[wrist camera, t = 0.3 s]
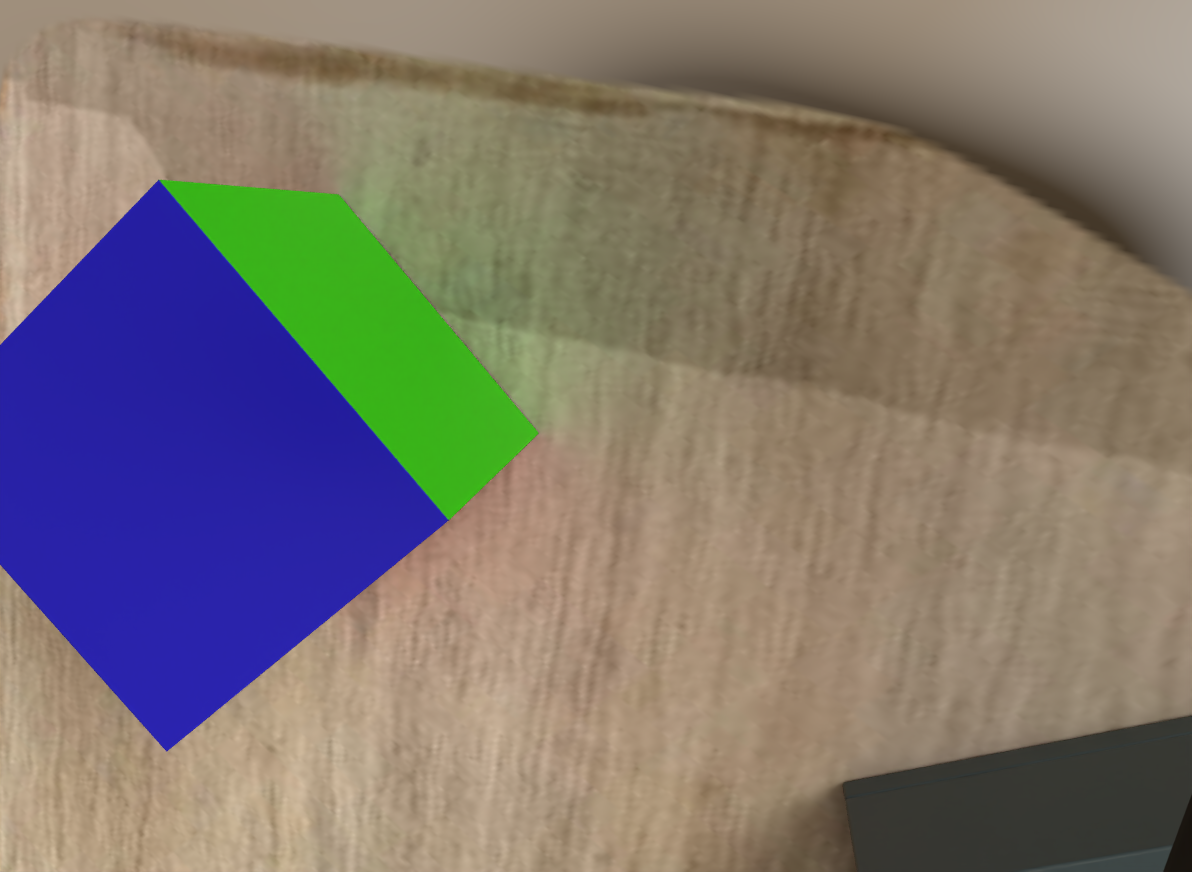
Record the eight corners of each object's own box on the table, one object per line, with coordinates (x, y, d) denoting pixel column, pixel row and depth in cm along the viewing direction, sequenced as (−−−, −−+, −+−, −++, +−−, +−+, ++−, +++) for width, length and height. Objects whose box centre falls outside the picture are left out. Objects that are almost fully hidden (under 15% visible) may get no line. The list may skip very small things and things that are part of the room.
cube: (328, 606, 28) (167, 751, 20) (138, 387, 27) (-102, 450, 20) (538, 433, 26) (448, 520, 18) (338, 194, 25) (159, 179, 18)
